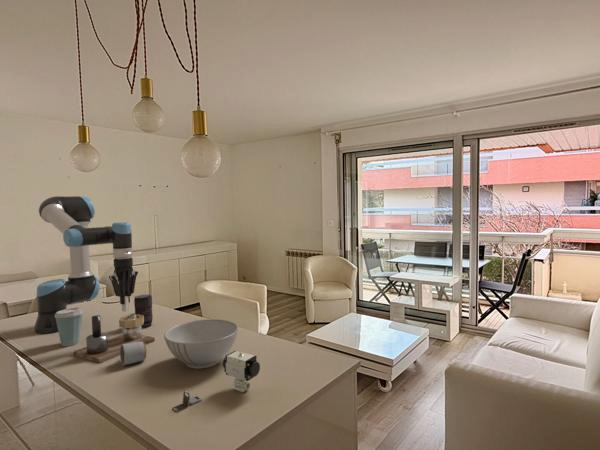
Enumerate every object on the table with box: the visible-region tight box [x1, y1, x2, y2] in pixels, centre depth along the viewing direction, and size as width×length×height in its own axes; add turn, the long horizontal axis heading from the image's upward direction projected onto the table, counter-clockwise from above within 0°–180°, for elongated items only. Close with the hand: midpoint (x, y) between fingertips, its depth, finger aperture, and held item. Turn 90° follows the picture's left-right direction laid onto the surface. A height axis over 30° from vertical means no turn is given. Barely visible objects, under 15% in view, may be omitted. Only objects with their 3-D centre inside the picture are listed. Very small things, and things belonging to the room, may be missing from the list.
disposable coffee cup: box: [55, 306, 84, 347], centre depth 160 cm, size 11×11×15 cm
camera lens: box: [133, 294, 154, 329], centre depth 181 cm, size 8×8×15 cm
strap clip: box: [171, 390, 203, 413], centre depth 108 cm, size 8×3×4 cm, turn 137°
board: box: [73, 333, 156, 364], centre depth 154 cm, size 17×25×2 cm
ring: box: [118, 312, 144, 329], centre depth 160 cm, size 9×9×4 cm
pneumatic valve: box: [222, 350, 261, 393], centre depth 116 cm, size 6×12×12 cm, turn 58°
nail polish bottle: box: [85, 314, 109, 355], centre depth 146 cm, size 7×7×14 cm
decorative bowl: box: [163, 318, 239, 370], centre depth 138 cm, size 27×27×12 cm
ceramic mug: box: [119, 342, 147, 367], centre depth 140 cm, size 11×8×8 cm
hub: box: [122, 317, 143, 341], centre depth 161 cm, size 7×7×8 cm
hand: (125, 310), depth 162 cm, fingers closed
